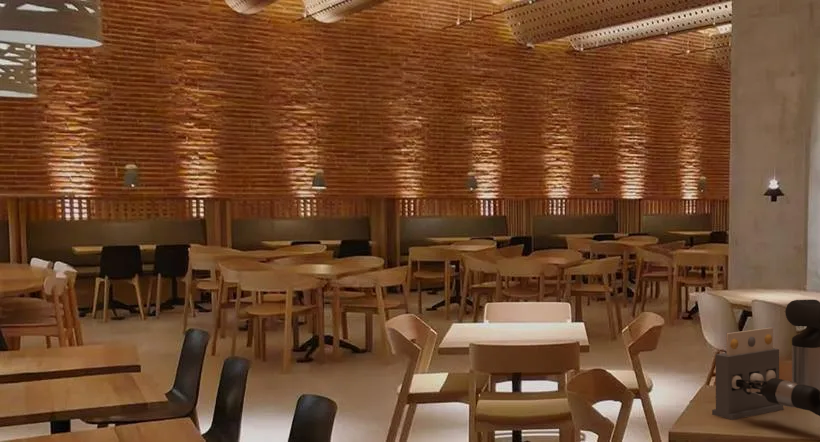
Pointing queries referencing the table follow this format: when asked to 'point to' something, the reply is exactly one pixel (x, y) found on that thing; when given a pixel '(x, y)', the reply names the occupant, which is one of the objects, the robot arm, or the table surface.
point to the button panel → (736, 400)
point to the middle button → (755, 376)
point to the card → (749, 341)
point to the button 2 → (770, 374)
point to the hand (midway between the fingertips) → (737, 382)
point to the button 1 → (734, 378)
